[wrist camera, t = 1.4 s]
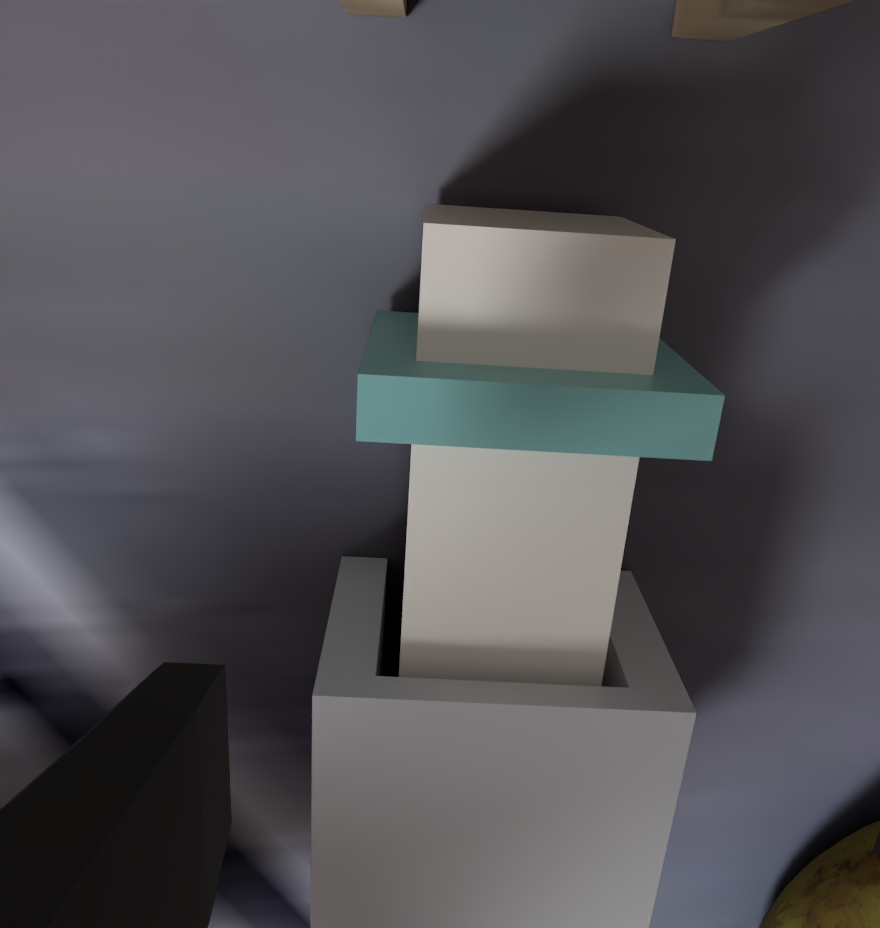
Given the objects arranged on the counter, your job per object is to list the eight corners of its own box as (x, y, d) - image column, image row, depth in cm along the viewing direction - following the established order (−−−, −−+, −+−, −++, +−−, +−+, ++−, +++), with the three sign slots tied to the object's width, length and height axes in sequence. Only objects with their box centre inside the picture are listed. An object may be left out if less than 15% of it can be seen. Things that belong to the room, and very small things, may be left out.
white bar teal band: (362, 731, 19) (343, 896, 15) (381, 201, 15) (361, 225, 11) (580, 740, 19) (621, 906, 15) (664, 219, 15) (754, 251, 11)
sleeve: (337, 765, 20) (310, 944, 16) (341, 555, 18) (312, 695, 13) (595, 776, 20) (642, 956, 16) (630, 570, 18) (696, 713, 14)
